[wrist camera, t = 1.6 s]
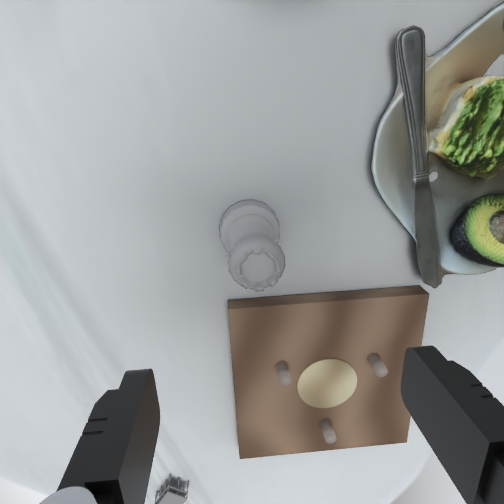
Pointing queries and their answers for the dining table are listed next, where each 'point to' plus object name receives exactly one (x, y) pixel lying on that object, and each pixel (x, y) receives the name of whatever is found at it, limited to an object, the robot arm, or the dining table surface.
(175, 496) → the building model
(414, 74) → the salad plate
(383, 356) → the pin board
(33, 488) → the dining table surface
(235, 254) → the rook chess piece
